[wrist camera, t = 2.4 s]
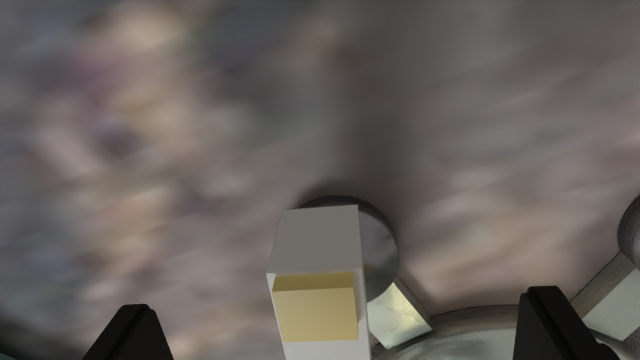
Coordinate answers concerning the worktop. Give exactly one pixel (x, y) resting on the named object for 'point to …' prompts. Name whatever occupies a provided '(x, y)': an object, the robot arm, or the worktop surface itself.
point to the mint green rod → (5, 357)
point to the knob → (320, 284)
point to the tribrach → (490, 321)
